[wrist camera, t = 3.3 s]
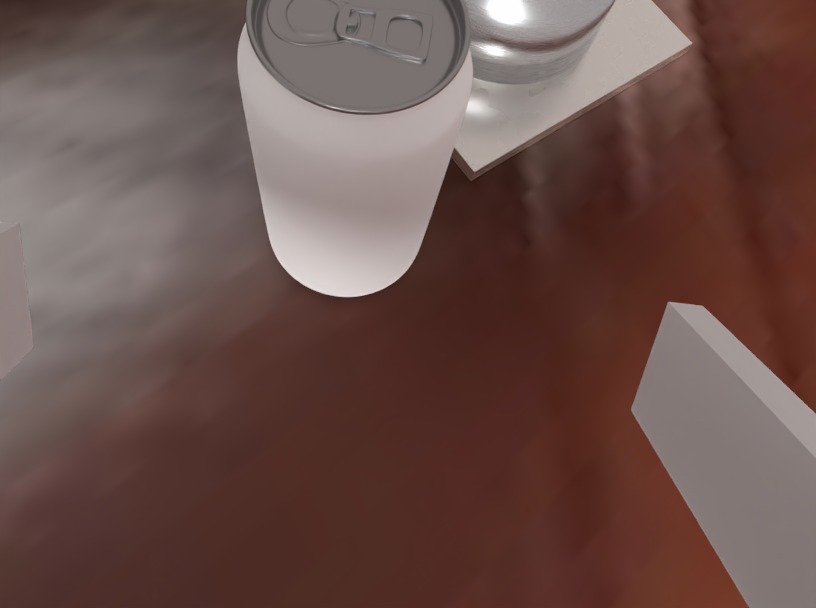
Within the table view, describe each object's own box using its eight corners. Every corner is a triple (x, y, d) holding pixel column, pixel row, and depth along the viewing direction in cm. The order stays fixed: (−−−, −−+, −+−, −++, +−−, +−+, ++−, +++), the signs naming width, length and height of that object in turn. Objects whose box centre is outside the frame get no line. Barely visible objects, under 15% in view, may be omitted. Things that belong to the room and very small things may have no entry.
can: (285, 150, 28) (259, -104, 17) (430, 178, 28) (499, -52, 17) (252, 285, 26) (196, 97, 15) (410, 314, 26) (473, 151, 15)
